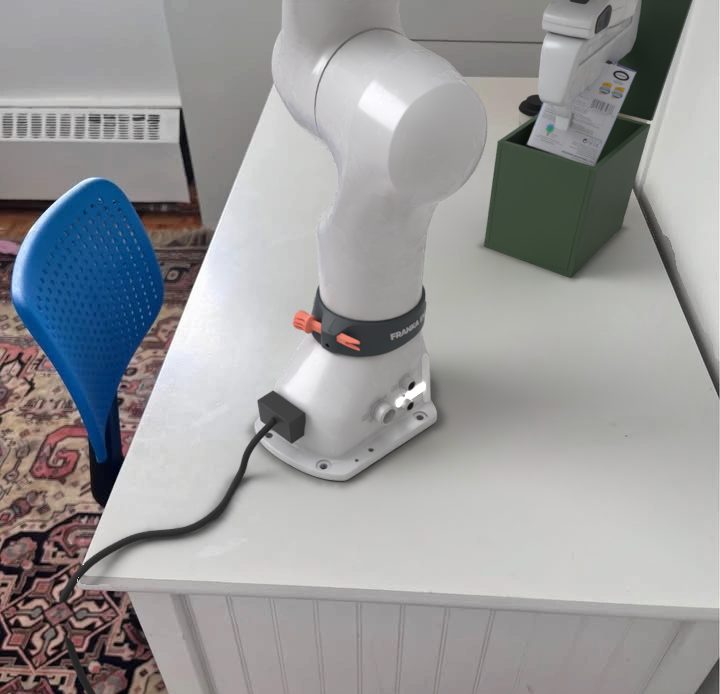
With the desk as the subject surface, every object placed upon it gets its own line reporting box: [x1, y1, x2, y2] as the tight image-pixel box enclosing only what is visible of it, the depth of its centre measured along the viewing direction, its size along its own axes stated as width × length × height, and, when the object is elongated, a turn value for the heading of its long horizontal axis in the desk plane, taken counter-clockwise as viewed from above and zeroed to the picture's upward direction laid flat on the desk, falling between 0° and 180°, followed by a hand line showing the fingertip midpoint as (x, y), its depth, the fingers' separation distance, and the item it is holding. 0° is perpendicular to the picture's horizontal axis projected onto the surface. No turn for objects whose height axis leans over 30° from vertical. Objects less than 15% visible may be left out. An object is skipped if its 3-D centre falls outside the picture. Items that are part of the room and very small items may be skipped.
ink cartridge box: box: [527, 60, 636, 167], centre depth 95 cm, size 10×6×14 cm, turn 74°
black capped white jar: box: [517, 94, 543, 127], centre depth 126 cm, size 7×7×10 cm
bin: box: [483, 113, 652, 278], centre depth 106 cm, size 18×15×16 cm
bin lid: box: [618, 0, 693, 122], centre depth 98 cm, size 18×15×1 cm
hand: (581, 112), depth 96 cm, fingers open, 8 cm apart
